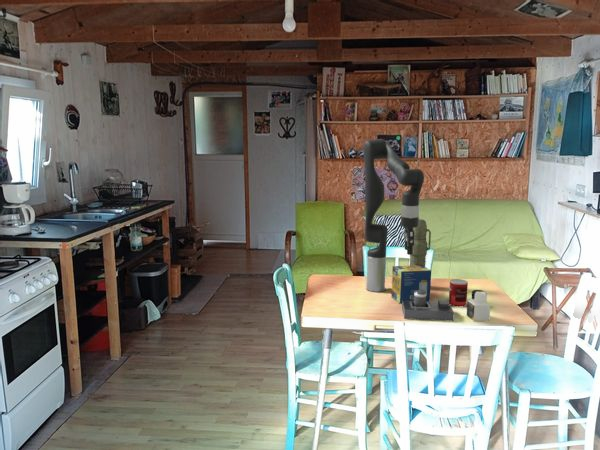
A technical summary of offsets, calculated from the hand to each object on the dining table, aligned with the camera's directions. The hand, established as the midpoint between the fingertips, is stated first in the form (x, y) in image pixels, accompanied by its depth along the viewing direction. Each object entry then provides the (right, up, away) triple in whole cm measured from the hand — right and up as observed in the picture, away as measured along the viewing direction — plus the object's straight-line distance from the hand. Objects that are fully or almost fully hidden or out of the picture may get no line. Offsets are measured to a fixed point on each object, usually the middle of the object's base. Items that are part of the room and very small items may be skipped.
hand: (408, 252), depth 225 cm
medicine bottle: (+28, -28, -7) cm, 40 cm away
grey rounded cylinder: (+4, -27, -2) cm, 27 cm away
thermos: (+13, -20, +41) cm, 47 cm away
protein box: (+5, -24, +19) cm, 31 cm away
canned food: (+25, -25, +12) cm, 38 cm away
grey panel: (+7, -27, -2) cm, 28 cm away
